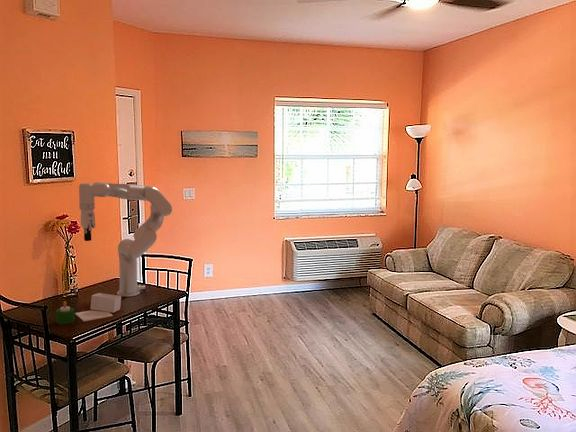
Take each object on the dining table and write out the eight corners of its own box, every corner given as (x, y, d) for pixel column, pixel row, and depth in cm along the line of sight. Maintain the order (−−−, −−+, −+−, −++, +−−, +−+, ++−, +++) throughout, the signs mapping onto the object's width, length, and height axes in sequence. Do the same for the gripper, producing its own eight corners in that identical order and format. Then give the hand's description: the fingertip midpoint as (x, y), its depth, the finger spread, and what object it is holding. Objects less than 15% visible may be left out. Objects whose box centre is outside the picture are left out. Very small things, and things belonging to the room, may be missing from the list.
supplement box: (90, 309, 253) (113, 313, 251) (91, 295, 252) (114, 298, 250) (97, 306, 260) (120, 309, 258) (99, 292, 260) (121, 295, 258)
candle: (52, 321, 237) (51, 301, 236) (67, 317, 244) (67, 297, 243) (63, 325, 233) (62, 304, 232) (78, 320, 240) (78, 300, 239)
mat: (103, 309, 258) (103, 308, 258) (112, 316, 248) (112, 314, 248) (75, 314, 249) (75, 313, 249) (83, 321, 239) (83, 320, 239)
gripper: (99, 207, 262) (99, 242, 264) (89, 204, 273) (90, 237, 276) (84, 208, 257) (85, 243, 259) (75, 205, 268) (76, 239, 271)
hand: (87, 240), depth 268 cm, fingers closed
